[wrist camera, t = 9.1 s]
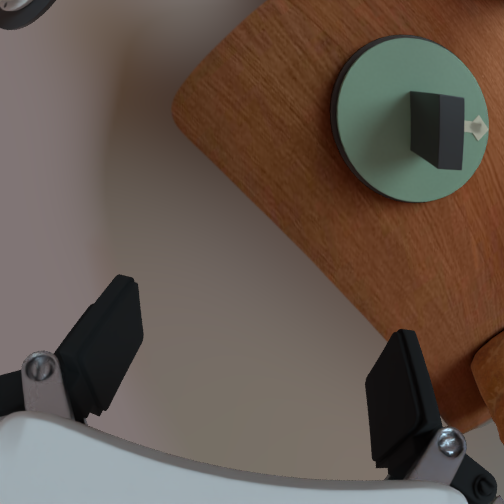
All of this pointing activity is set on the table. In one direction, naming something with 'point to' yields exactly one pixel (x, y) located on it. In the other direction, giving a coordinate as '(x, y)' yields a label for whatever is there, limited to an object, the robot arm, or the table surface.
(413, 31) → the table surface
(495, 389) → the bread
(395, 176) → the turntable tray
